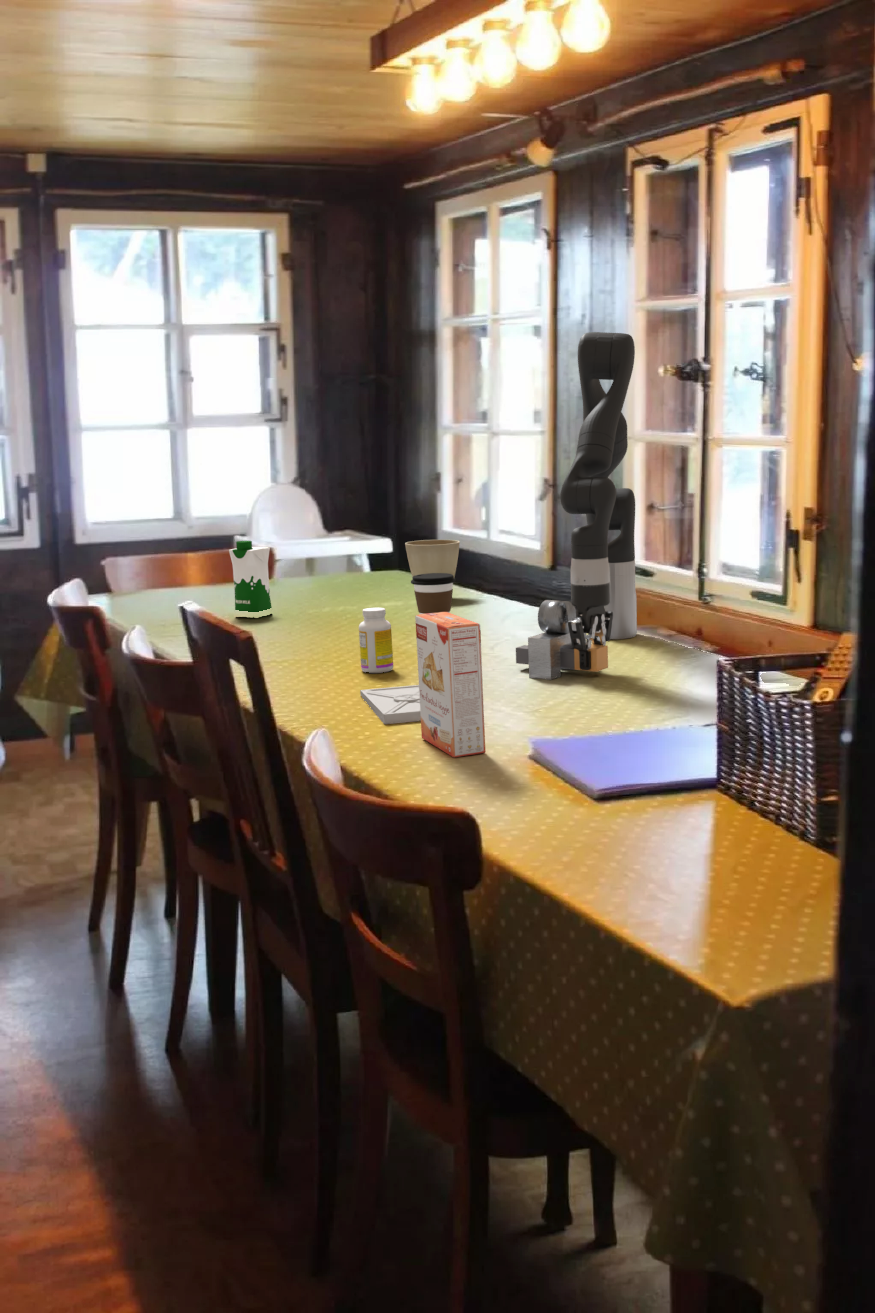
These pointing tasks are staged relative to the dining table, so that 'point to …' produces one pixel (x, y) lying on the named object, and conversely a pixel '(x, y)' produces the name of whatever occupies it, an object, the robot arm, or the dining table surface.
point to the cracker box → (450, 683)
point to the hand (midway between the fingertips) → (591, 666)
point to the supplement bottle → (375, 641)
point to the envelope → (394, 703)
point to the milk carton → (250, 577)
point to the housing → (550, 639)
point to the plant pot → (432, 556)
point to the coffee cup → (433, 592)
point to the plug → (572, 657)
